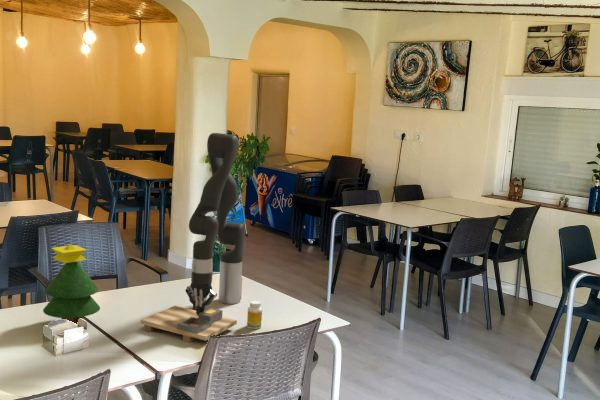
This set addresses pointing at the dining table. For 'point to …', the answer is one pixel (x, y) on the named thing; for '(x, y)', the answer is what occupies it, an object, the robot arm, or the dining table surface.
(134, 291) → the dining table surface
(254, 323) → the supplement bottle
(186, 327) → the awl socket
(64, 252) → the decorative tree
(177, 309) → the wooden pallet
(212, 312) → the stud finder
